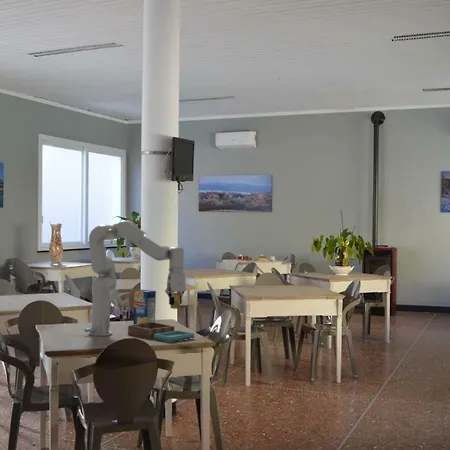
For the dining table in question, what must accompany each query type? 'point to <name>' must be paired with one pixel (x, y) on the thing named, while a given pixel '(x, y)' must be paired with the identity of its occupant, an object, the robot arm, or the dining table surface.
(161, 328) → the brown wooden tray
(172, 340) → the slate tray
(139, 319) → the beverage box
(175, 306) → the mustard cylinder
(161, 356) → the dining table surface
